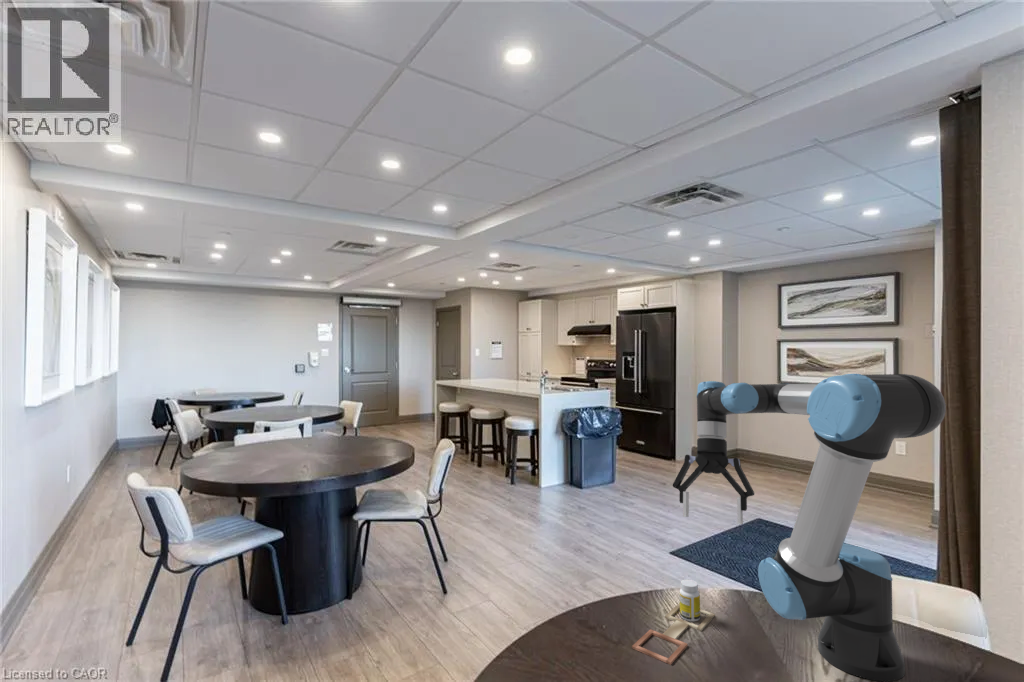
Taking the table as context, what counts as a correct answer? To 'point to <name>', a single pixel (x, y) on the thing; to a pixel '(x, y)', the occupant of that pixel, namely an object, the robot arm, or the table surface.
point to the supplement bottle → (689, 601)
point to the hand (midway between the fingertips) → (712, 520)
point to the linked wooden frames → (672, 635)
